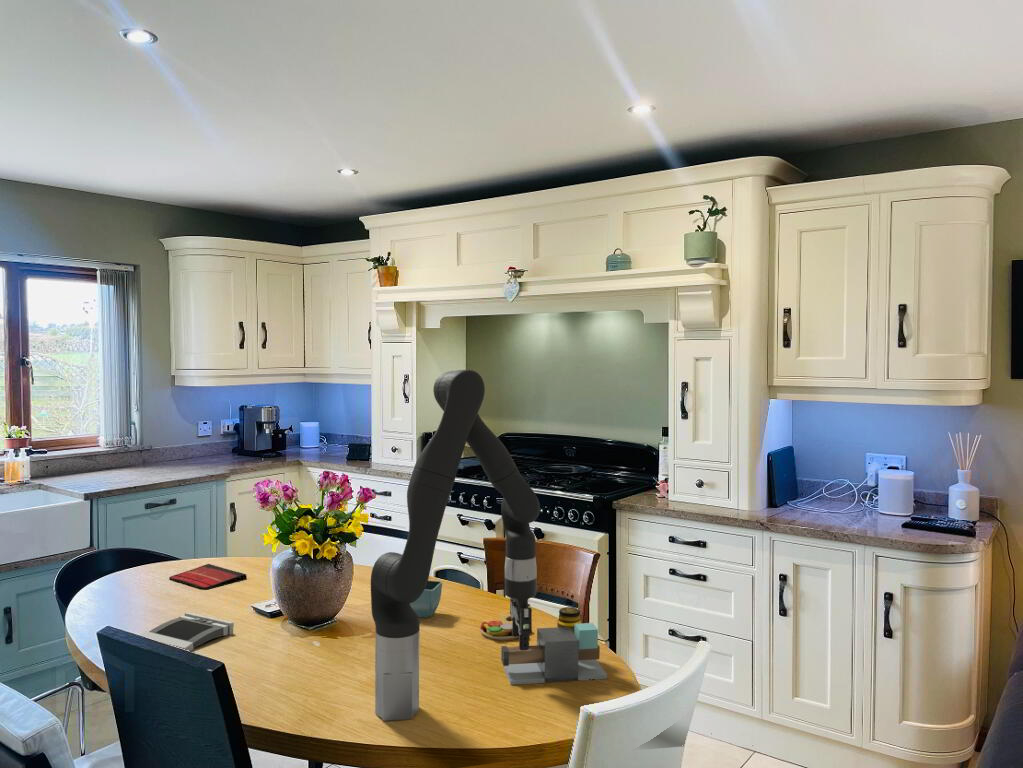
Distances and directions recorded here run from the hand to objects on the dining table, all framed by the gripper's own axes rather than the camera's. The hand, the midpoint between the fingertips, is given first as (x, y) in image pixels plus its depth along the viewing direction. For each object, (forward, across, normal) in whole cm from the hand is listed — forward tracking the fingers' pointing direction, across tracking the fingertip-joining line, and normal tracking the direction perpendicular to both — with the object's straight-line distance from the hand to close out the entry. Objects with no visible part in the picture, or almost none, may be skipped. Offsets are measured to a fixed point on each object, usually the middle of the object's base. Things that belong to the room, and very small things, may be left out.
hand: (520, 642), depth 181 cm
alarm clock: (+8, +37, +83) cm, 91 cm away
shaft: (+5, -1, -7) cm, 9 cm away
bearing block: (+8, -1, -9) cm, 12 cm away
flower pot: (+8, +45, +20) cm, 50 cm away
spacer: (+2, -1, -16) cm, 16 cm away
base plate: (+8, -1, -8) cm, 11 cm away
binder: (+8, +91, +88) cm, 127 cm away
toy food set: (+9, +28, -1) cm, 29 cm away
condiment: (+8, +10, -14) cm, 19 cm away
